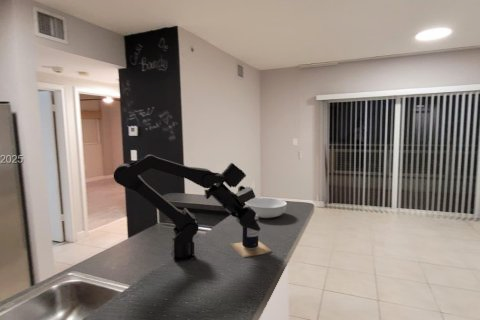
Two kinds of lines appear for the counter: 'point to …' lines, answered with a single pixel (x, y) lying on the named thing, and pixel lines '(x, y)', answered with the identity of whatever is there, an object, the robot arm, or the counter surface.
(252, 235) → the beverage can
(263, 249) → the coaster
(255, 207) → the serving bowl
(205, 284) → the counter surface
